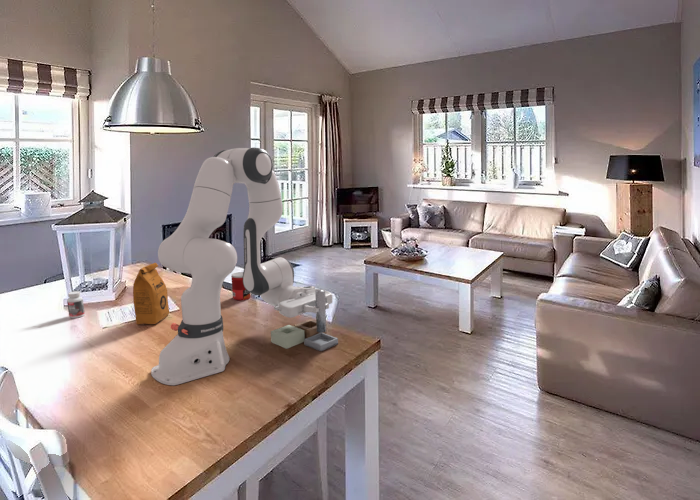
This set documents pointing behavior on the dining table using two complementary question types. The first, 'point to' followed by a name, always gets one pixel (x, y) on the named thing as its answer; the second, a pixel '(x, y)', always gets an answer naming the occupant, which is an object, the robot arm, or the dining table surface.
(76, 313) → the pill bottle
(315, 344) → the tray
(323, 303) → the cylinder
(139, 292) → the coffee package
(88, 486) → the dining table surface
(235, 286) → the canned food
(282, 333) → the sage block
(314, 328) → the brown wooden square frame
